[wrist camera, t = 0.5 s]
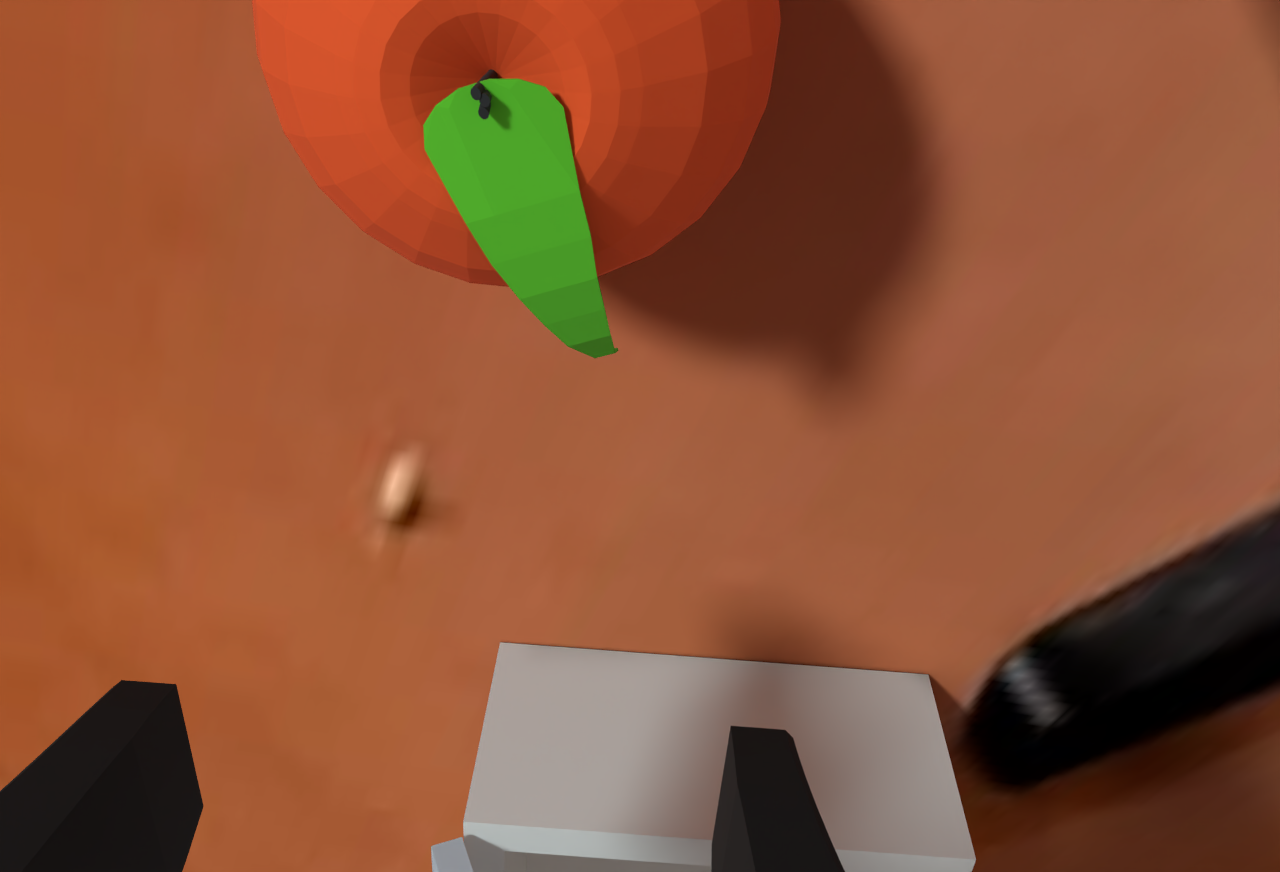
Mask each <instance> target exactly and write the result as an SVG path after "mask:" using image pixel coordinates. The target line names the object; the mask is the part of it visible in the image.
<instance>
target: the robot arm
mask: <svg viewBox="0 0 1280 872" xmlns="http://www.w3.org/2000/svg"><path fill="white" fill-rule="evenodd" d="M202 809H203V802H202V798H201V793H200V789H199V785H198V780H197V776H196V771H195V767H194V762H193V758H192V753H191V749H190V744H189V740H188V735H187V731H186V726H185V722H184V717H183V713H182V708H181V704H180V699H179V695H178V691H177V686H176V684H165V683H151V682H138V681H125V680H121V681H120V682H119V683H118V684H116V685H115V686H114V687H113V688H112V689H111V690H109V691H108V692H107V693H106V694H105V695H104V696H103V697H102V698H101V699H100V700H98V701H97V702H96V703H95V704H94V705H93V706H92V707H91V708H90V709H89V710H88V711H87V712H85V713H84V714H83V715H82V716H81V717H80V718H79V719H78V720H77V721H76V722H75V723H74V724H73V725H72V726H70V727H69V728H68V729H67V730H66V731H65V732H64V733H63V734H62V735H61V736H60V737H59V738H58V739H57V740H55V741H54V742H53V743H52V744H51V745H50V746H49V747H48V748H47V749H46V750H45V751H44V752H43V753H41V754H40V755H39V756H38V757H37V758H36V759H35V760H34V761H33V762H32V763H31V764H29V765H28V766H27V767H26V768H25V769H24V770H23V771H22V772H21V773H20V774H19V775H18V776H16V777H15V778H14V779H13V780H12V781H11V782H10V783H9V784H8V785H7V786H5V787H4V788H3V789H2V790H1V791H0V872H182V870H183V867H184V865H185V862H186V859H187V856H188V853H189V850H190V847H191V843H192V840H193V837H194V834H195V831H196V828H197V825H198V821H199V818H200V815H201V812H202ZM711 872H845V871H844V868H843V866H842V864H841V862H840V860H839V857H838V855H837V853H836V851H835V848H834V846H833V844H832V842H831V839H830V837H829V834H828V832H827V830H826V827H825V825H824V822H823V820H822V818H821V815H820V813H819V810H818V808H817V805H816V803H815V800H814V797H813V795H812V792H811V790H810V787H809V784H808V781H807V779H806V776H805V773H804V770H803V767H802V764H801V761H800V758H799V755H798V752H797V749H796V745H795V742H794V738H793V737H792V736H791V735H790V734H789V733H788V732H787V731H786V730H781V729H768V728H754V727H741V726H731V727H730V733H729V739H728V745H727V752H726V758H725V764H724V770H723V776H722V783H721V789H720V795H719V801H718V808H717V814H716V820H715V826H714V832H713V839H712V859H711Z"/></svg>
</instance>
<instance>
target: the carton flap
mask: <svg viewBox="0 0 1280 872" xmlns="http://www.w3.org/2000/svg"><path fill="white" fill-rule="evenodd" d="M431 853H432V871H433V872H473V869H472V866H471V863H470V860H469V857H468V854H467V851H466V848H465V845H464V842H463V839H462V837H460V838H457V839H454V840H450V841H447V842H444V843H440V844H437V845H434V846H431Z"/></svg>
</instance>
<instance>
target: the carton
mask: <svg viewBox="0 0 1280 872" xmlns="http://www.w3.org/2000/svg"><path fill="white" fill-rule="evenodd" d="M731 726H741V727H754V728H768V729H781V730H786V731H787V732H788V733H789V734H790V735H791V736H792V737H793V738H794V742H795V745H796V749H797V752H798V755H799V758H800V761H801V764H802V767H803V770H804V773H805V776H806V779H807V781H808V784H809V787H810V790H811V792H812V795H813V797H814V800H815V803H816V805H817V808H818V810H819V813H820V815H821V818H822V820H823V822H824V825H825V827H826V830H827V832H828V834H829V837H830V839H831V842H832V844H833V846H834V848H835V851H836V853H837V855H838V857H839V860H840V862H841V864H842V866H843V868H844V871H845V872H972V870H973V867H974V864H975V861H976V857H975V853H974V849H973V846H972V842H971V838H970V834H969V830H968V826H967V822H966V818H965V815H964V811H963V807H962V803H961V799H960V795H959V791H958V788H957V784H956V780H955V776H954V772H953V768H952V764H951V760H950V757H949V753H948V749H947V745H946V741H945V737H944V733H943V730H942V726H941V722H940V718H939V714H938V710H937V706H936V702H935V699H934V695H933V691H932V687H931V683H930V679H929V675H928V674H914V673H901V672H888V671H874V670H861V669H848V668H834V667H821V666H808V665H794V664H781V663H768V662H755V661H741V660H728V659H715V658H701V657H688V656H675V655H661V654H648V653H635V652H621V651H608V650H595V649H581V648H568V647H555V646H541V645H528V644H515V643H501V642H500V646H499V651H498V656H497V660H496V665H495V670H494V675H493V680H492V685H491V690H490V694H489V699H488V704H487V709H486V714H485V719H484V724H483V729H482V733H481V738H480V743H479V748H478V753H477V758H476V763H475V767H474V772H473V777H472V782H471V787H470V792H469V797H468V802H467V806H466V811H465V816H464V821H463V827H464V845H465V848H466V851H467V854H468V857H469V860H470V863H471V866H472V869H473V872H711V859H712V839H713V832H714V826H715V820H716V814H717V808H718V801H719V795H720V789H721V783H722V776H723V770H724V764H725V758H726V752H727V745H728V739H729V733H730V727H731Z"/></svg>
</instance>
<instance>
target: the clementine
mask: <svg viewBox="0 0 1280 872" xmlns="http://www.w3.org/2000/svg"><path fill="white" fill-rule="evenodd" d="M252 4H253V15H254V25H255V36H256V47H257V55H258V58H259V61H260V64H261V67H262V70H263V73H264V76H265V79H266V82H267V85H268V88H269V90H270V93H271V96H272V99H273V102H274V105H275V108H276V111H277V114H278V116H279V119H280V122H281V125H282V128H283V131H284V133H285V135H286V136H287V138H288V139H289V141H290V143H291V144H292V146H293V147H294V149H295V151H296V152H297V154H298V155H299V157H300V158H301V160H302V162H303V163H304V165H305V166H306V168H307V170H308V171H309V173H310V174H311V176H312V178H313V179H314V181H315V182H316V184H317V185H318V187H319V188H320V189H321V190H322V191H323V192H324V193H325V194H326V195H327V196H328V197H329V198H330V199H331V200H332V201H333V202H334V203H335V204H336V205H337V206H338V207H339V208H340V209H341V210H342V211H343V212H344V213H345V214H346V215H347V216H348V217H349V218H350V219H351V220H352V221H353V222H354V223H355V224H356V225H357V226H358V227H359V228H360V229H361V230H362V231H363V232H365V233H367V234H368V235H370V236H371V237H373V238H375V239H376V240H378V241H379V242H381V243H383V244H384V245H386V246H387V247H389V248H391V249H392V250H394V251H395V252H397V253H398V254H400V255H402V256H403V257H405V258H406V259H408V260H410V261H411V262H413V263H414V264H417V265H420V266H423V267H426V268H429V269H432V270H435V271H438V272H440V273H443V274H446V275H449V276H452V277H455V278H458V279H461V280H464V281H466V282H469V283H477V284H487V285H497V286H507V287H510V288H511V289H512V291H513V292H514V293H515V294H516V295H517V297H518V298H519V299H520V300H521V301H522V302H523V303H524V304H525V305H526V306H527V308H528V309H529V310H530V311H531V312H532V313H533V314H534V315H535V316H536V317H537V318H538V319H539V320H540V321H541V322H542V323H543V324H544V325H545V326H546V327H547V328H548V329H549V330H550V331H551V332H552V333H554V334H555V335H556V336H557V337H558V338H559V339H560V340H561V341H562V342H564V343H565V344H566V345H567V346H568V347H570V348H573V349H575V350H577V351H580V352H582V353H584V354H587V355H589V356H591V357H594V358H597V357H601V356H605V355H609V354H613V353H616V352H617V351H618V348H615V349H614V345H613V342H612V338H611V334H610V330H609V326H608V321H607V317H606V312H605V308H604V304H603V299H602V295H601V291H600V286H599V282H598V278H597V277H599V276H601V275H604V274H606V273H609V272H611V271H613V270H616V269H618V268H621V267H623V266H625V265H628V264H630V263H633V262H635V261H638V260H640V259H642V258H645V257H647V256H650V255H652V254H653V253H655V252H656V251H657V250H659V249H660V248H661V247H663V246H664V245H665V244H667V243H668V242H669V241H671V240H672V239H673V238H674V237H676V236H677V235H678V234H680V233H681V232H682V231H684V230H685V229H686V228H688V227H689V226H690V225H692V224H693V223H694V222H696V221H697V220H698V219H700V218H701V217H702V215H703V214H704V213H705V212H706V210H707V209H708V208H709V206H710V205H711V204H712V203H713V201H714V200H715V199H716V198H717V196H718V195H719V194H720V192H721V191H722V190H723V189H724V187H725V186H726V185H727V184H728V182H729V181H730V180H731V178H732V177H733V176H734V175H735V173H736V172H737V171H738V170H739V168H740V166H741V164H742V162H743V159H744V157H745V155H746V152H747V150H748V148H749V146H750V143H751V141H752V139H753V136H754V134H755V132H756V129H757V127H758V125H759V122H760V120H761V118H762V116H763V113H764V111H765V109H766V106H767V102H768V98H769V94H770V90H771V84H772V77H773V71H774V64H775V58H776V51H777V45H778V39H779V32H780V26H781V16H780V6H779V0H252Z"/></svg>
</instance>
